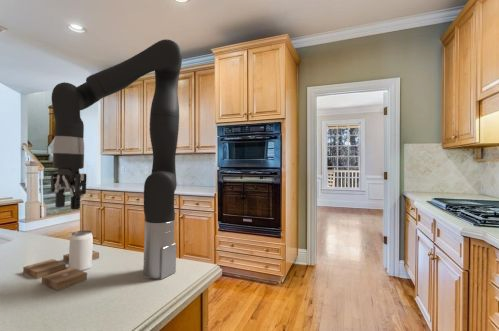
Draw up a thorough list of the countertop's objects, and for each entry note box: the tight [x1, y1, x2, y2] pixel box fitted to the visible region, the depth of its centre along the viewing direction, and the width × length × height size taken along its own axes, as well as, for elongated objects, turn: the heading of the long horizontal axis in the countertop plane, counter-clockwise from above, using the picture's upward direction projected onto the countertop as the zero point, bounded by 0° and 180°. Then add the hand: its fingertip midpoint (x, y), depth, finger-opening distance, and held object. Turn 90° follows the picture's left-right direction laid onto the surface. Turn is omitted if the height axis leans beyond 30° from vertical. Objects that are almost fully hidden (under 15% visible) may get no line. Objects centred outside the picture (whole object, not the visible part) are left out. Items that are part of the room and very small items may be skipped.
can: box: [68, 230, 94, 272], centre depth 85 cm, size 6×6×12 cm
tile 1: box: [41, 267, 88, 291], centre depth 75 cm, size 8×8×2 cm
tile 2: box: [22, 258, 67, 280], centre depth 82 cm, size 8×8×2 cm
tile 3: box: [62, 250, 100, 263], centre depth 93 cm, size 8×8×2 cm
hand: (67, 207), depth 75 cm, fingers open, 7 cm apart
